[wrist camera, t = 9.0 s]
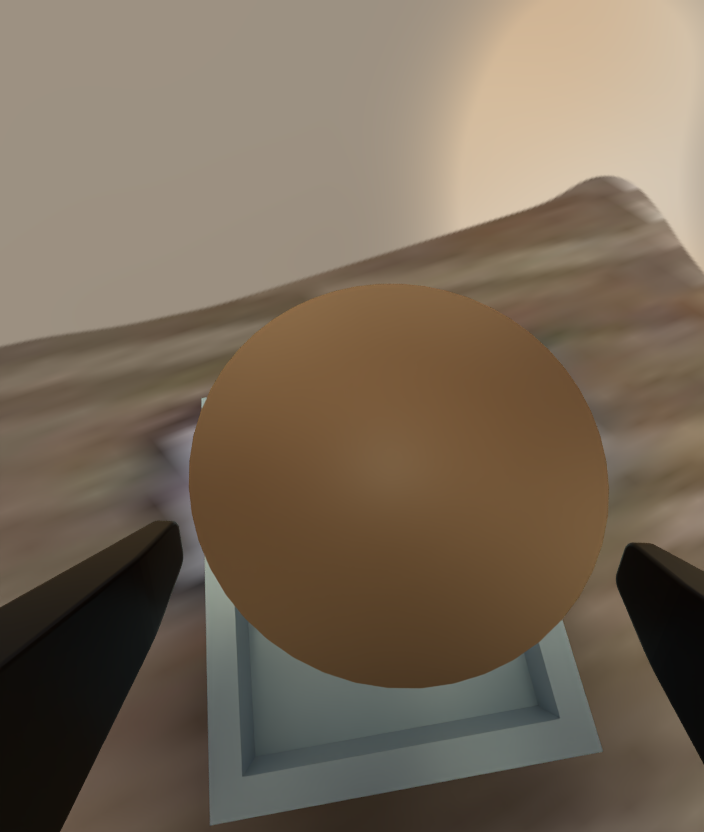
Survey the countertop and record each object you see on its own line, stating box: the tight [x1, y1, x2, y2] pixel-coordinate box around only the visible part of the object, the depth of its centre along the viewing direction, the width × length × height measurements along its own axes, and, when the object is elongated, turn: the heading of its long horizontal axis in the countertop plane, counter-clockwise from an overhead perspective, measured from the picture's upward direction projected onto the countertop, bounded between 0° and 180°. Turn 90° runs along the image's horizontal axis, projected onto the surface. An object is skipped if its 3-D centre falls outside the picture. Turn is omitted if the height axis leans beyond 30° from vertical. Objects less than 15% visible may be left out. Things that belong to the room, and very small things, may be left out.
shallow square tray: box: [202, 397, 603, 825], centre depth 18 cm, size 14×12×5 cm
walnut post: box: [189, 284, 609, 688], centre depth 11 cm, size 5×5×13 cm
